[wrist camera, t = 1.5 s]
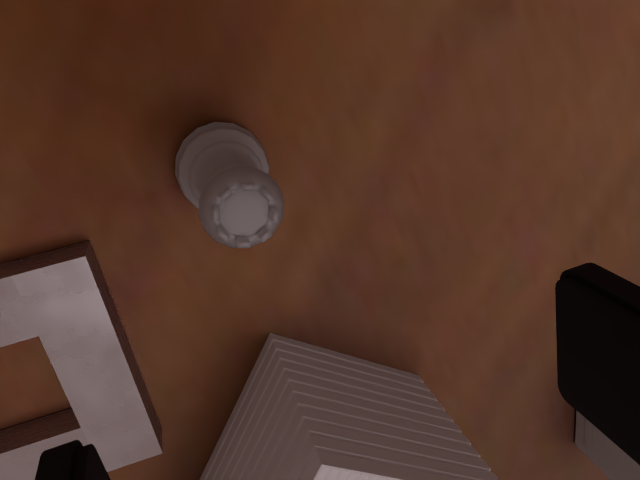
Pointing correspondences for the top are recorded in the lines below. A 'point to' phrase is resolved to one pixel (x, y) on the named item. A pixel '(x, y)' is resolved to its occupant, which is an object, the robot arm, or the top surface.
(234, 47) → the top surface
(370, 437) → the long grey block
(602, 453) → the supplement box
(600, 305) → the robot arm
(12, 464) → the socket plate
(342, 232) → the top surface
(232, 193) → the rook chess piece
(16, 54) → the top surface
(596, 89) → the top surface
